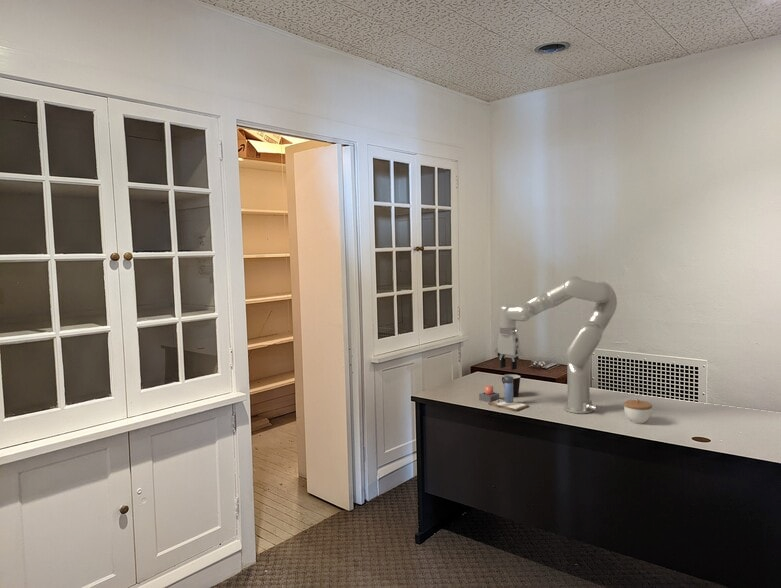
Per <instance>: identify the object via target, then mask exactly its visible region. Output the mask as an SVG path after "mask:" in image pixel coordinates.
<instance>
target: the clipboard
mask: <svg viewBox="0 0 781 588" xmlns="http://www.w3.org/2000/svg"><path fill="white" fill-rule="evenodd" d="M487 403H488V404H487V405H489V406H493V407H497V408H501V409H504V410H508V411H512V412H520V411H522V410H524V409H527V408H530V404H527V403H526V404H525V403H521V402H517V401H513V403H506V402H505V398H499V400H496V401H493V402H487Z"/></svg>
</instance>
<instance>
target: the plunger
mask: <svg viewBox="0 0 781 588" xmlns="http://www.w3.org/2000/svg"><path fill="white" fill-rule="evenodd" d="M484 392H485V395H493V392H494V386H493V385H486V386H484Z"/></svg>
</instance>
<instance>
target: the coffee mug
mask: <svg viewBox="0 0 781 588" xmlns="http://www.w3.org/2000/svg"><path fill="white" fill-rule="evenodd" d="M506 376H511V377H513V399H514V398H519V393H520V385H521V375H518V374H512V373H511V374H510V373H509V374H504V375H502V377H501V382H502V384H503V387H504V389H505V382H504V377H506Z"/></svg>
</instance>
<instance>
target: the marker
mask: <svg viewBox="0 0 781 588" xmlns="http://www.w3.org/2000/svg"><path fill="white" fill-rule="evenodd" d="M504 382H505V388H504V399H505V402H506V403H513V402H514V398H513V377H511V376H506V377H504Z"/></svg>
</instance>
